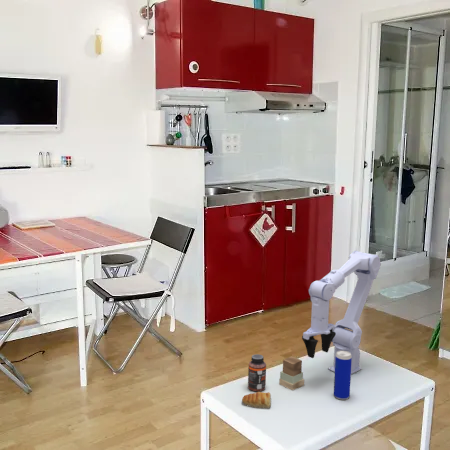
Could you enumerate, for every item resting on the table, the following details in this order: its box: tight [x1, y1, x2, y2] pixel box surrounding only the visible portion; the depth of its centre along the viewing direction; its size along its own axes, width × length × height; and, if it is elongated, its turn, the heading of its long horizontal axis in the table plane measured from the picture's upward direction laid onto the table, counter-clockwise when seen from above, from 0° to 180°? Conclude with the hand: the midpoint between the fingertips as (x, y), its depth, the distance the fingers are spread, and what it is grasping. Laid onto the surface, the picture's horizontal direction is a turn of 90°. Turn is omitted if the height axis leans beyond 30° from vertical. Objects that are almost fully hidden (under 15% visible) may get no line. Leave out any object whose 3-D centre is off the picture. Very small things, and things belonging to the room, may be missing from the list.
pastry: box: [241, 391, 272, 409], centre depth 174 cm, size 9×7×4 cm
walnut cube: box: [282, 355, 303, 377], centre depth 185 cm, size 4×4×4 cm
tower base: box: [279, 378, 305, 392], centre depth 187 cm, size 6×6×2 cm
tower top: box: [279, 370, 304, 384], centre depth 186 cm, size 6×6×2 cm
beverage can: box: [333, 351, 352, 401], centre depth 178 cm, size 5×5×15 cm
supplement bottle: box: [247, 353, 267, 392], centre depth 183 cm, size 6×6×11 cm
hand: (318, 354), depth 187 cm, fingers open, 7 cm apart
